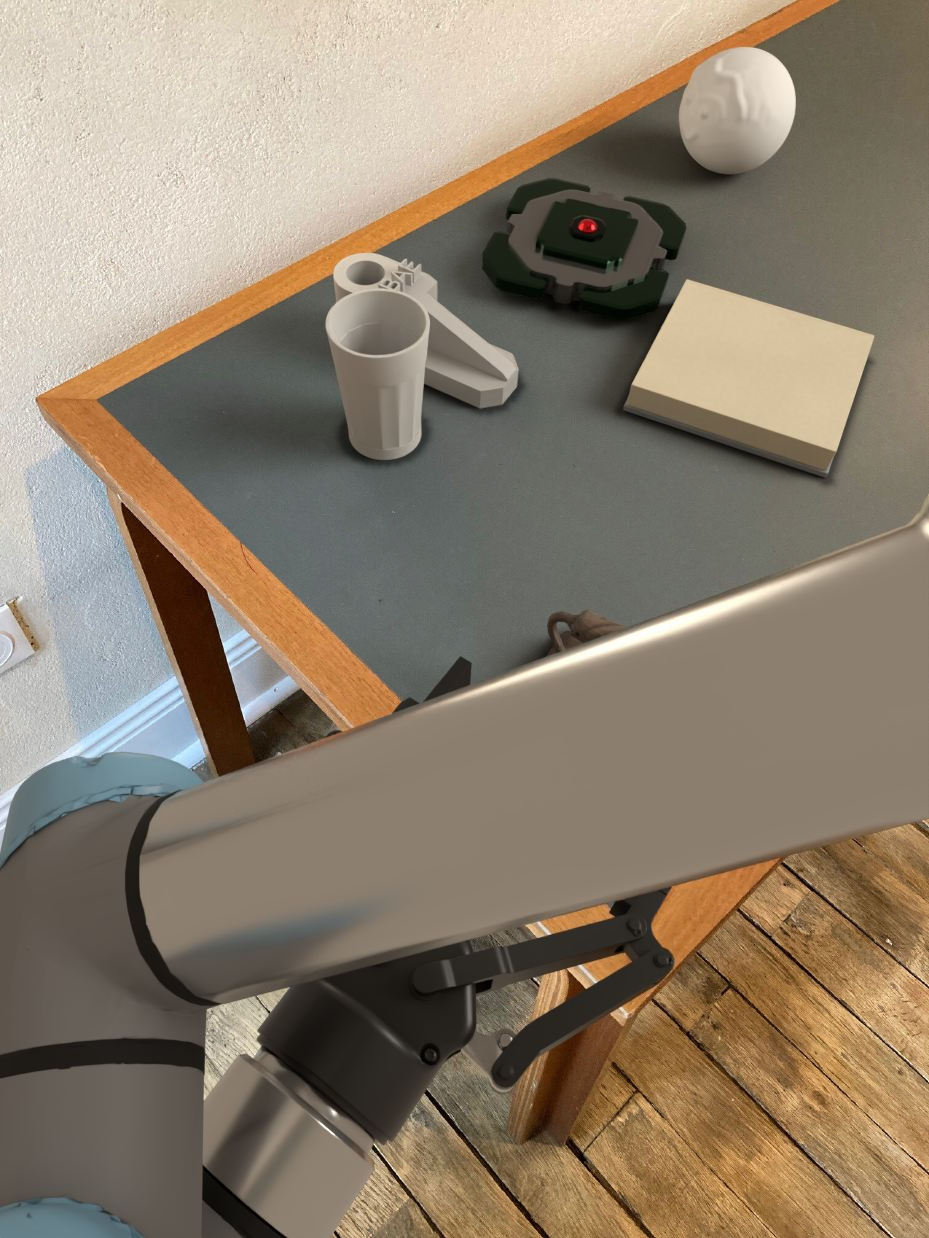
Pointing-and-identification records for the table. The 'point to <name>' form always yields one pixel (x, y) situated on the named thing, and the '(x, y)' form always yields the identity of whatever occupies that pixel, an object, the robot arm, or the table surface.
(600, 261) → the clover-shaped pad
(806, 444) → the cream flat slab
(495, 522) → the table surface
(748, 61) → the decorative ball
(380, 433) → the cup
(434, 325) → the grey mounting bracket
